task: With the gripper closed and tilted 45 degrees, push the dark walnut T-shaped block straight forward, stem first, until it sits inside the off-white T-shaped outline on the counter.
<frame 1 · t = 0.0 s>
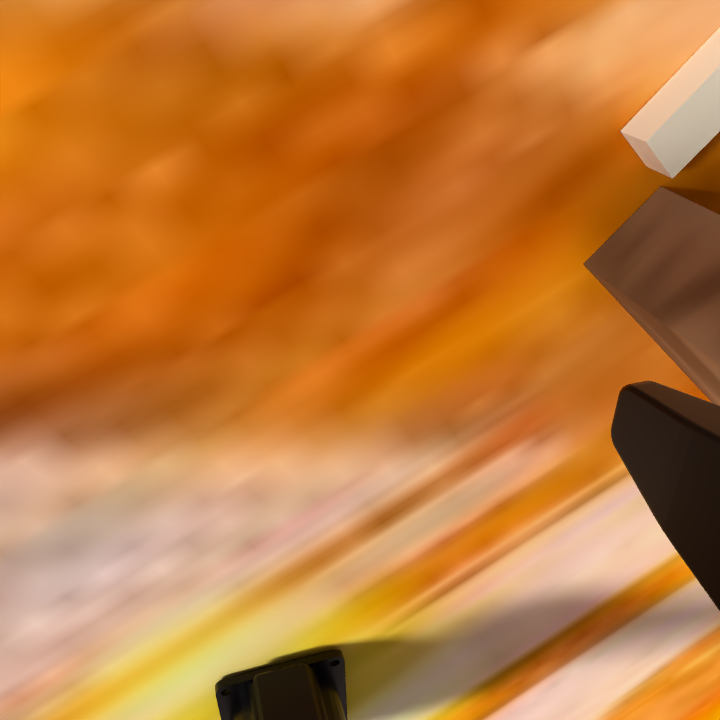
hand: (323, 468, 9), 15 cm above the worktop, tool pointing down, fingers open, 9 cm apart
t block: (693, 312, 30), on the worktop
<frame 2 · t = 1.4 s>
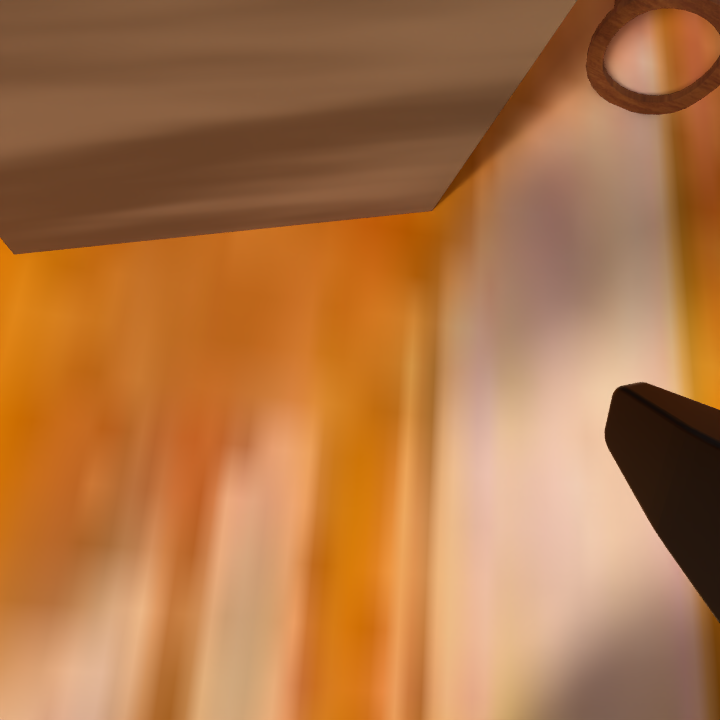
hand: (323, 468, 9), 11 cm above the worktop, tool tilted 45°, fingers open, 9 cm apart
t block: (227, 172, 22), on the worktop
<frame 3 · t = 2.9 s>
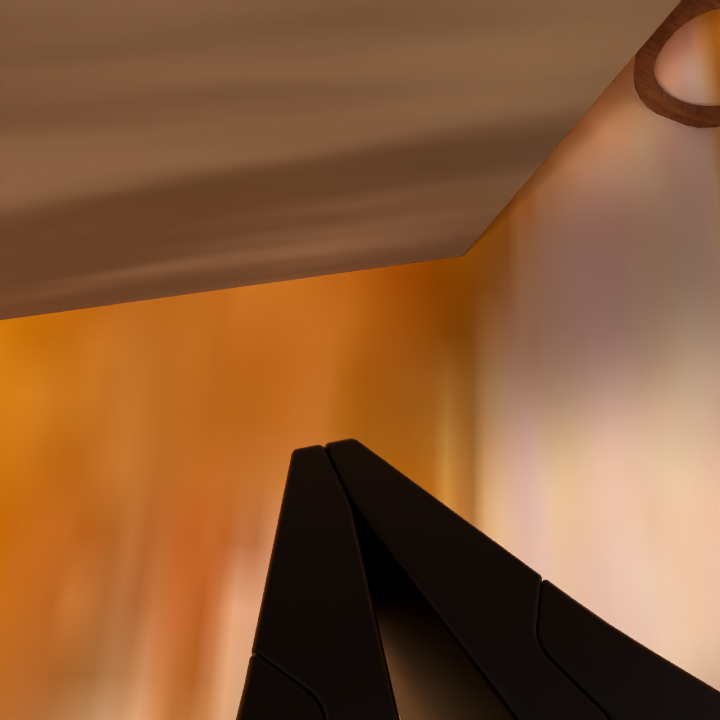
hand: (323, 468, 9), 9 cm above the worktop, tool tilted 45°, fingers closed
t block: (226, 218, 19), on the worktop
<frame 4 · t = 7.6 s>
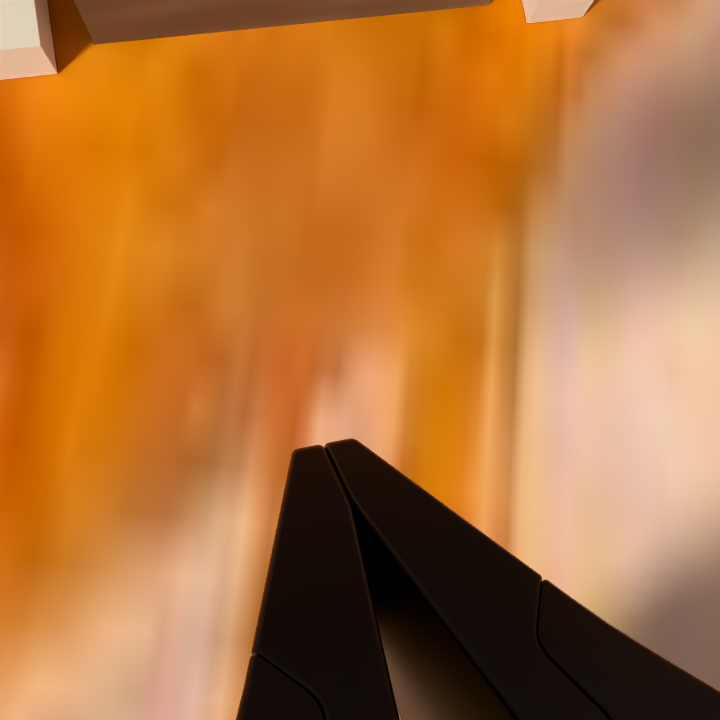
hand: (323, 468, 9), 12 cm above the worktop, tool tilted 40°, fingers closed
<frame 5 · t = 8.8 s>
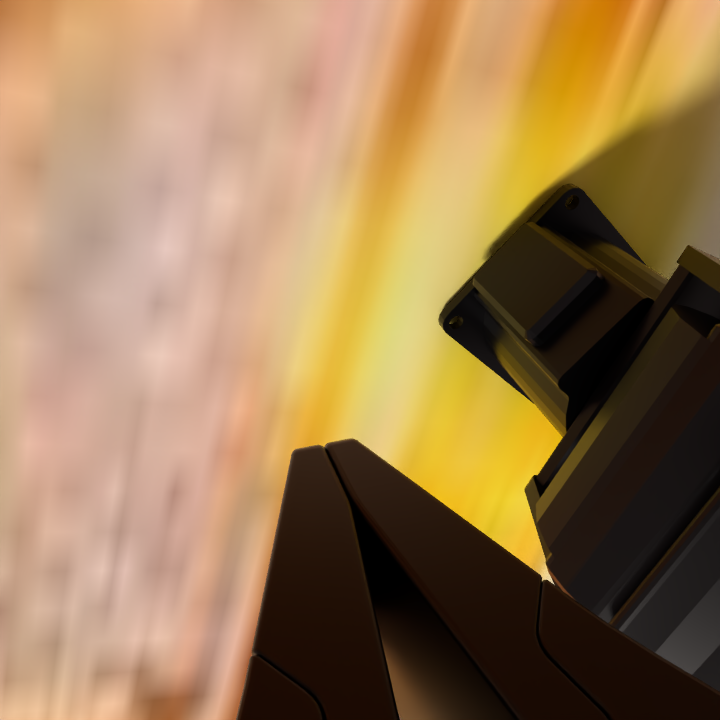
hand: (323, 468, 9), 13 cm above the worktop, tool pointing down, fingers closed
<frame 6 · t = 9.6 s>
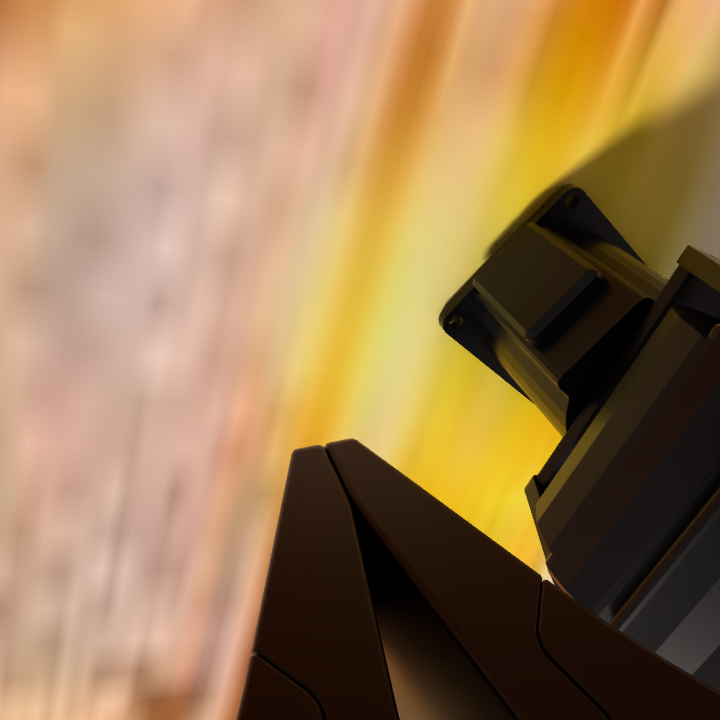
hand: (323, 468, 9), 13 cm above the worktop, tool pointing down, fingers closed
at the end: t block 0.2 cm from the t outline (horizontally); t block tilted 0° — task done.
